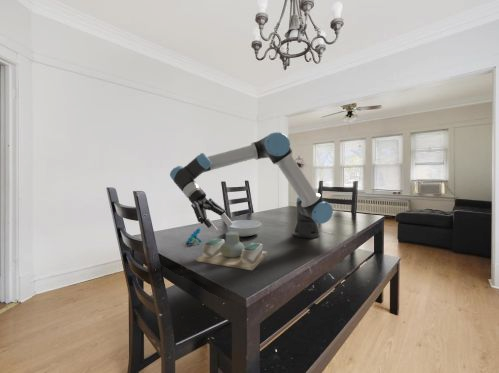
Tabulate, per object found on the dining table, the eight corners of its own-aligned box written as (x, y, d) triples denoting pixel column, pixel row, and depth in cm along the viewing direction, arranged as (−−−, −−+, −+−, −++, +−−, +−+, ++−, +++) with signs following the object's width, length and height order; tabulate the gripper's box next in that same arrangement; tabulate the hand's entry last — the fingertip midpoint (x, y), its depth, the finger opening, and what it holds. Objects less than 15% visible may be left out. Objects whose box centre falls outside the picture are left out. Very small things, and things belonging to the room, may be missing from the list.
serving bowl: (221, 238, 134) (221, 226, 133) (234, 229, 154) (234, 219, 153) (256, 241, 128) (256, 228, 127) (265, 231, 148) (264, 220, 147)
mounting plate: (267, 254, 106) (267, 241, 105) (252, 270, 89) (252, 254, 89) (217, 248, 116) (217, 235, 115) (196, 260, 99) (195, 246, 99)
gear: (187, 236, 131) (199, 224, 130) (195, 243, 132) (207, 231, 132) (184, 245, 120) (197, 232, 120) (193, 252, 121) (206, 239, 121)
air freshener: (217, 255, 103) (217, 233, 103) (231, 250, 109) (230, 229, 109) (234, 261, 96) (234, 237, 95) (248, 255, 102) (247, 233, 101)
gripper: (205, 196, 120) (231, 227, 115) (171, 202, 97) (203, 241, 93) (213, 186, 118) (241, 217, 113) (181, 190, 95) (214, 229, 90)
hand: (224, 228), depth 103 cm, fingers open, 13 cm apart
